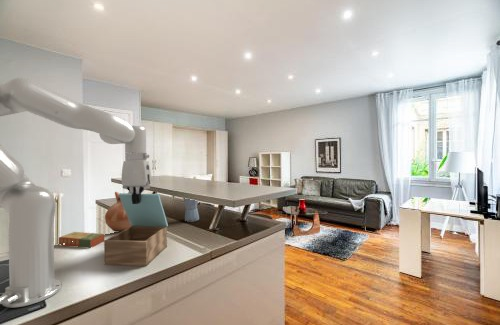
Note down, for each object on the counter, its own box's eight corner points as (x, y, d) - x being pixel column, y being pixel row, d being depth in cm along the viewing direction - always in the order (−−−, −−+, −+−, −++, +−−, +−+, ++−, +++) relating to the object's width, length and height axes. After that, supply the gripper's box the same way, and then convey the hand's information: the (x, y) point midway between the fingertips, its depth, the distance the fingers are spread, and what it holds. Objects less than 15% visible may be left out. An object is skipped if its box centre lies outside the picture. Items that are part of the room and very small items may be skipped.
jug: (97, 230, 124) (96, 193, 124) (128, 222, 140) (128, 189, 140) (118, 236, 116) (118, 196, 115) (149, 226, 132) (149, 191, 131)
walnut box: (146, 266, 85) (146, 242, 85) (104, 264, 86) (104, 240, 86) (166, 246, 103) (166, 226, 103) (132, 245, 104) (131, 225, 104)
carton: (74, 240, 112) (74, 231, 111) (105, 242, 109) (105, 233, 109) (58, 246, 103) (58, 237, 103) (90, 248, 101) (90, 239, 101)
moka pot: (177, 221, 142) (177, 189, 142) (196, 216, 155) (196, 186, 155) (187, 224, 137) (187, 190, 136) (206, 218, 150) (206, 187, 149)
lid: (158, 195, 93) (159, 192, 95) (118, 194, 94) (120, 191, 96) (167, 226, 103) (168, 223, 104) (131, 225, 104) (133, 222, 105)
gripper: (158, 157, 95) (159, 201, 96) (123, 157, 96) (124, 201, 97) (149, 157, 88) (150, 205, 88) (111, 157, 89) (112, 205, 89)
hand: (136, 203), depth 92 cm, fingers closed
